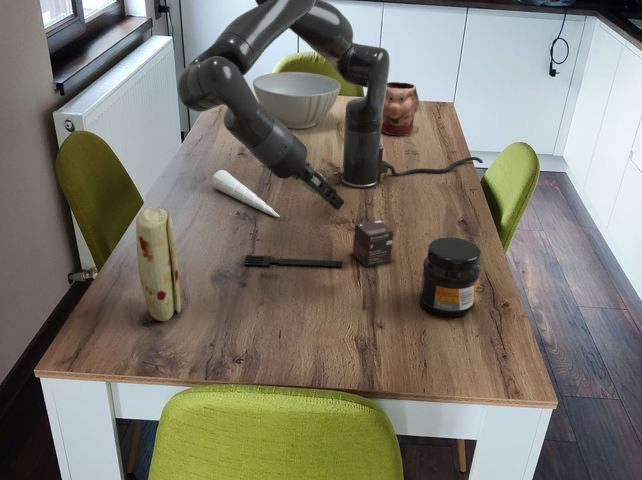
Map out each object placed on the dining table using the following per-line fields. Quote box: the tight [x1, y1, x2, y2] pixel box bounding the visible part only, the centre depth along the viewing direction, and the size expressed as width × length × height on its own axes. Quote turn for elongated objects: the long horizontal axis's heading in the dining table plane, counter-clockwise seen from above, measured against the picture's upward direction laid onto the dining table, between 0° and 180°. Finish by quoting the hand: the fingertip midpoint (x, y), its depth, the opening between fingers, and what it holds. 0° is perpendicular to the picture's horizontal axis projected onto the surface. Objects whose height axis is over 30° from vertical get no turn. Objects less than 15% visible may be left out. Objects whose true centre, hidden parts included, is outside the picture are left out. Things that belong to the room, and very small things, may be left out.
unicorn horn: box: [211, 169, 281, 218], centre depth 168 cm, size 5×24×5 cm, turn 40°
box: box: [352, 219, 394, 267], centre depth 147 cm, size 6×6×7 cm
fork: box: [243, 254, 343, 269], centre depth 146 cm, size 20×4×1 cm, turn 90°
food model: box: [135, 205, 182, 322], centre depth 122 cm, size 10×7×20 cm
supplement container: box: [419, 236, 482, 318], centre depth 131 cm, size 10×10×12 cm
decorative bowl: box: [252, 71, 341, 130], centre depth 219 cm, size 27×27×12 cm
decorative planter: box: [381, 81, 420, 136], centre depth 216 cm, size 20×12×14 cm, turn 174°
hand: (329, 197), depth 135 cm, fingers open, 8 cm apart
